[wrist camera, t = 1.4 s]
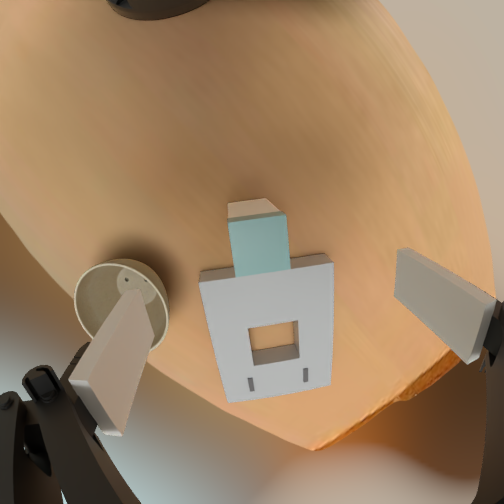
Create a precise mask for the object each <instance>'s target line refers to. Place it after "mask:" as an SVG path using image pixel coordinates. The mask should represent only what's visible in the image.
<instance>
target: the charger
mask: <svg viewBox="0 0 504 504" xmlns="http://www.w3.org/2000/svg"><path fill="white" fill-rule="evenodd" d="M227 222H228V230H229V236H230V243H231V250H232V256H233V263H234V269H235V276H236V277H242V276H249V275H256V274H263V273H269V272H276V271H282V270H289V269H291V266H290V253H289V242H288V230H287V219H286V214H285V213H283V212H282V211H280V210H279V209H278V208H276V207H275V206H274V205H273V204H272V203H271V202H270V201H269V200H268V199H266V198H262V199H254V200H246V201H239V202H232V203H228V218H227Z"/></svg>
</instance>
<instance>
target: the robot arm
mask: <svg viewBox="0 0 504 504" xmlns="http://www.w3.org/2000/svg"><path fill="white" fill-rule="evenodd" d="M106 1H107V2H108V3H109V5H110V6H111V7H112V8H113V10H115V11H116V12H117V13H118V14H120V15H122V16H124V17H127V18H131V19H137V20H156V19H163V18H168V17H172V16H176V15H179V14H182V13H185V12H188V11H190V10H193V9H195V8H197V7H199V6H201V5H203V4H204V3H206V2H207V1H209V0H106ZM394 297H395V298H396V299H398V300H399V301H400V302H401V303H402V304H403V305H404V306H405V307H407V308H408V309H409V310H410V311H411V312H412V313H413V314H414V315H415V316H417V317H418V318H419V319H420V320H421V321H422V322H423V323H424V324H425V325H426V326H427V327H429V328H430V329H431V330H432V331H433V332H434V333H435V334H436V335H437V336H438V337H439V338H440V339H441V340H442V341H443V342H444V343H446V344H447V345H448V346H449V347H450V348H451V349H452V350H453V351H454V352H455V353H456V354H457V355H458V356H459V357H460V358H461V359H462V360H463V361H464V362H465V363H466V364H469V363H471V362H472V361H474V360H476V359H478V358H479V355H480V353H481V350H482V347H483V346H484V347H485V348H486V349H487V352H486V355H485V357H484V360H483V362H482V365H481V368H480V371H479V372H481V371H482V369H483V368H484V367H485V366H486V369H485V372H486V385H487V415H486V434H485V447H484V455H483V463H482V469H481V476H480V481H479V487H478V491H477V494H476V497H475V499H474V500H473V502H472V503H471V504H504V302H503V303H501V302H500V301H498V300H497V299H495V298H494V297H492V296H490V295H489V294H487V293H486V292H484V291H482V290H481V289H479V288H477V287H476V286H475V285H473V284H471V283H470V282H468V281H466V280H464V279H463V278H461V277H459V276H458V275H456V274H454V273H453V272H451V271H449V270H448V269H446V268H444V267H442V266H441V265H439V264H437V263H435V262H434V261H432V260H430V259H428V258H427V257H425V256H423V255H421V254H419V253H418V252H416V251H414V250H412V249H410V248H403V249H397V264H396V278H395V290H394ZM154 336H155V335H154V332H153V329H152V326H151V323H150V320H149V317H148V314H147V311H146V307H145V304H144V301H143V297H142V294H141V291H140V288H139V289H131V290H126V291H125V292H124V294H123V295H122V296H121V298H120V299H119V301H118V302H117V304H116V305H115V307H114V308H113V309H112V311H111V312H110V314H109V315H108V317H107V318H106V320H105V321H104V323H103V324H102V326H101V327H100V329H99V330H98V332H97V334H96V335H95V337H94V338H93V340H92V341H91V342H87V343H86V344H85V345H83V346H82V347H81V348H80V349H79V350H78V352H77V353H76V355H75V356H74V358H73V360H72V361H71V362H70V365H69V366H68V367H67V369H66V370H65V372H64V374H63V375H62V377H61V378H60V380H59V379H58V377H57V376H56V374H55V372H54V370H53V369H52V367H51V366H48V365H40V366H37V367H35V368H33V369H31V370H30V371H28V373H27V374H25V376H24V378H23V379H22V385H23V386H24V388H25V389H26V391H27V393H28V394H29V395H30V397H31V398H32V400H30V401H22V400H21V398H20V397H19V395H18V394H17V393H16V392H14V391H8V392H6V393H3V394H2V395H0V504H63V499H62V493H61V490H62V492H63V494H64V497H65V499H66V502H67V504H141V502H140V501H139V500H138V498H137V497H136V496H135V495H134V493H133V492H132V490H131V489H130V487H129V486H128V485H127V483H126V482H125V480H124V479H123V477H122V476H121V474H120V473H119V471H118V470H117V468H116V467H115V465H114V464H113V462H112V460H111V459H110V457H109V455H108V454H107V452H106V450H105V449H104V447H103V445H102V443H101V442H100V440H99V438H98V436H97V435H96V434H95V433H94V432H95V429H96V427H97V425H98V426H99V428H100V429H101V430H102V432H103V433H104V434H105V435H114V436H123V433H124V429H125V426H126V422H127V419H128V416H129V412H130V409H131V406H132V403H133V399H134V396H135V393H136V390H137V387H138V383H139V380H140V377H141V374H142V371H143V368H144V365H145V362H146V359H147V356H148V353H149V351H150V348H151V345H152V342H153V339H154ZM24 447H25V450H24Z"/></svg>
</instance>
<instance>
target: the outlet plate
mask: <svg viewBox="0 0 504 504" xmlns="http://www.w3.org/2000/svg"><path fill="white" fill-rule="evenodd" d="M290 266H291V269H289V270H282V271H276V272H269V273H263V274H256V275H249V276H242V277H236V276H235V269H234V267H230V268H223V269H215V270H208V271H201V273H200V277H199V282H198V283H199V288H200V292H201V297H202V302H203V306H204V311H205V315H206V319H207V324H208V328H209V332H210V336H211V340H212V344H213V349H214V353H215V357H216V360H217V364H218V368H219V372H220V376H221V380H222V383H223V387H224V391H225V394H226V398H227V401H228V403H231V402H240V401H247V400H255V399H262V398H268V397H274V396H280V395H286V394H291V393H296V392H301V391H306V390H311V389H315V388H320V387H324V386H328V385H331V370H332V352H333V325H334V262H333V261H332V260H331V259H330V258H329V257H328V256H327V255H326V254H325V253H324V254H317V255H311V256H304V257H298V258H291V259H290ZM291 321H293V326H294V344H292V345H286V346H281V347H275V348H269V349H262V350H256V351H251V344H250V338H249V332H248V328H254V327H260V326H267V325H273V324H279V323H285V322H291Z"/></svg>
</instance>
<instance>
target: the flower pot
mask: <svg viewBox="0 0 504 504" xmlns="http://www.w3.org/2000/svg"><path fill="white" fill-rule="evenodd" d="M144 279H146V280H144ZM126 280H128V281H126ZM139 288H140V291H141V294H142V297H143V301H144V304H145V307H146V311H147V314H148V317H149V320H150V323H151V326H152V329H153V332H154V335H155V336H154V339H153V342H152V345H151V348H150V351H152V350H154V349H155V348H156V347H158V346H159V345H160V344H161V342H162V341H163V340H164V338H165V336H166V333H167V330H168V325H169V302H168V297H167V293H166V290H165V288H164V285H163V283H162V281H161V279H160V278H159V276H158V275H157V274H156V273H155V272H154V270H152V269H151V268H150V267H149V266H147V265H146V264H144V263H142V262H139V261H136V260H132V259H114V260H109V261H105V262H102V263H100V264H97V265H95V266H93V267H92V268H90V269H88V270H87V271H86V272H85V273H84V274H83V275H82V276H81V277H80V279H79V280H78V282H77V285H76V288H75V292H74V306H75V310H76V314H77V317H78V319H79V321H80V323H81V325H82V327H83V328H84V329H85V331H86V332H87V333H88V335H89V336H90V337H91V338H92V339H93V338H94V337H95V335H96V334H97V332H98V330H99V329H100V327H101V326H102V324H103V323H104V321H105V320H106V318H107V317H108V315H109V314H110V312H111V311H112V309H113V308H114V307H115V305H116V304H117V302H118V301H119V299H120V298H121V296H122V295H123V294H124V292H125V291H126V290H131V289H139ZM150 351H149V352H150Z"/></svg>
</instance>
